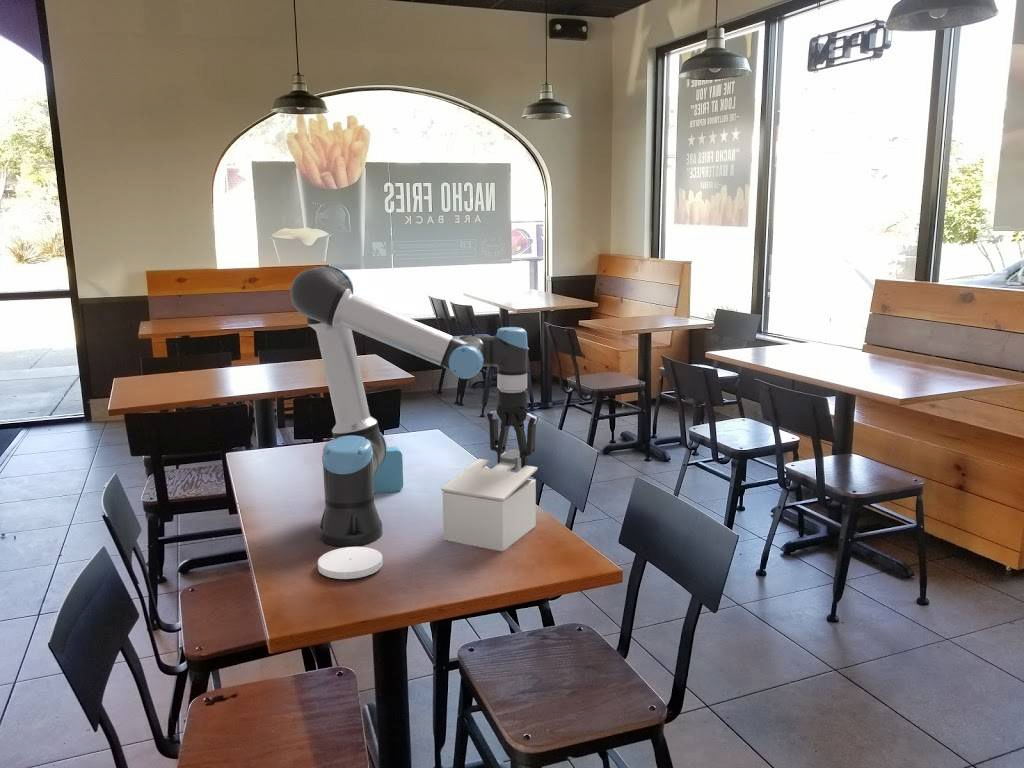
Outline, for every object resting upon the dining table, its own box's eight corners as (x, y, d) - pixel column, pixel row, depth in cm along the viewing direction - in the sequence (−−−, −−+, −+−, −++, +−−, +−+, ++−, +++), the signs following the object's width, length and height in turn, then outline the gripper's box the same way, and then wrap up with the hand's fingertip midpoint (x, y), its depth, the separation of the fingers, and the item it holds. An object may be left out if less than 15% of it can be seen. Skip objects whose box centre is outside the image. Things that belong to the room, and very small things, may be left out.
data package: (401, 486, 238) (399, 445, 236) (403, 490, 234) (402, 450, 232) (359, 490, 235) (357, 449, 233) (360, 495, 231) (359, 453, 229)
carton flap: (504, 505, 189) (503, 493, 188) (441, 495, 196) (440, 483, 195) (547, 464, 210) (547, 453, 209) (489, 456, 217) (489, 445, 216)
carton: (502, 551, 191) (502, 502, 189) (443, 539, 198) (442, 492, 196) (535, 525, 207) (535, 480, 205) (479, 516, 214) (478, 471, 212)
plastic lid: (393, 573, 180) (392, 563, 180) (331, 589, 173) (331, 577, 173) (368, 552, 192) (367, 542, 192) (309, 565, 185) (309, 555, 184)
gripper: (549, 389, 206) (549, 479, 211) (489, 383, 214) (489, 470, 218) (537, 395, 200) (536, 488, 204) (475, 389, 207) (476, 478, 212)
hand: (512, 478), depth 211 cm, fingers closed on carton flap, 4 cm apart
